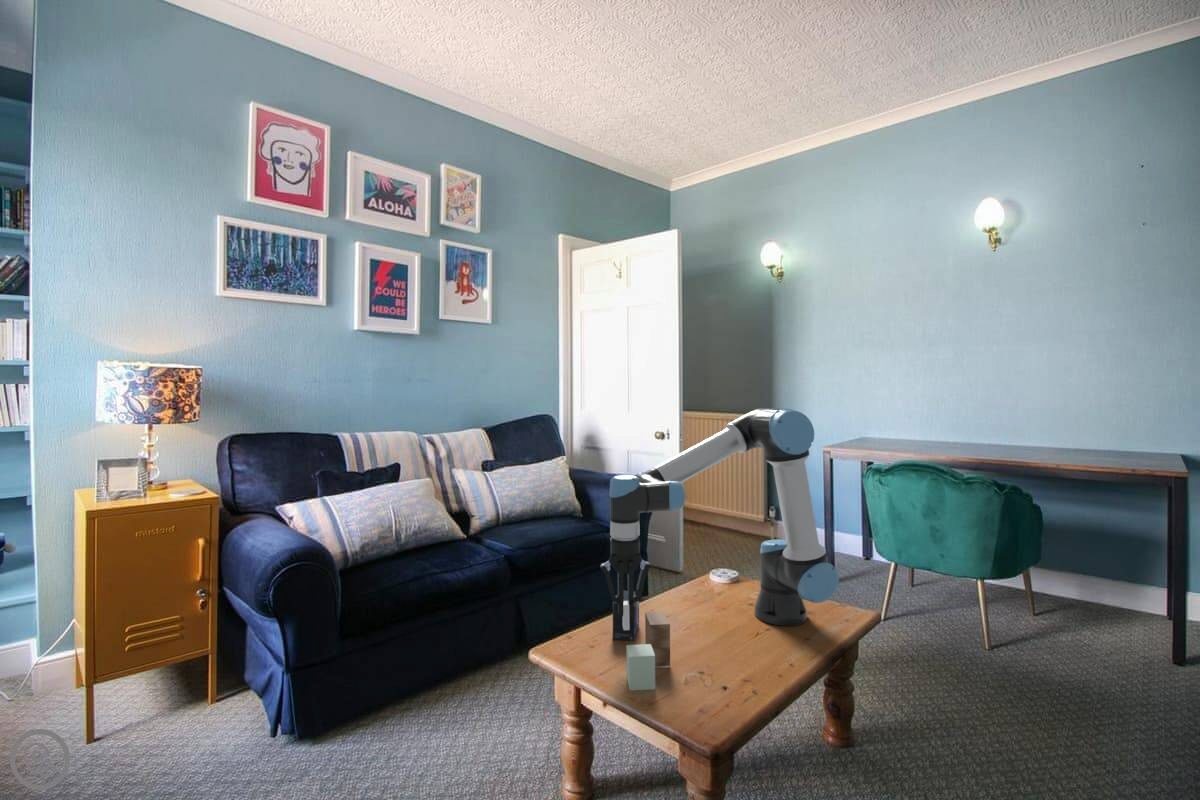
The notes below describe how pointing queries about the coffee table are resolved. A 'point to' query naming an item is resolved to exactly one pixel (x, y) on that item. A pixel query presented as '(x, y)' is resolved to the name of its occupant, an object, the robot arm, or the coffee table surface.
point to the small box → (618, 621)
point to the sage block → (640, 667)
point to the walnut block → (658, 637)
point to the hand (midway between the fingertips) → (626, 627)
